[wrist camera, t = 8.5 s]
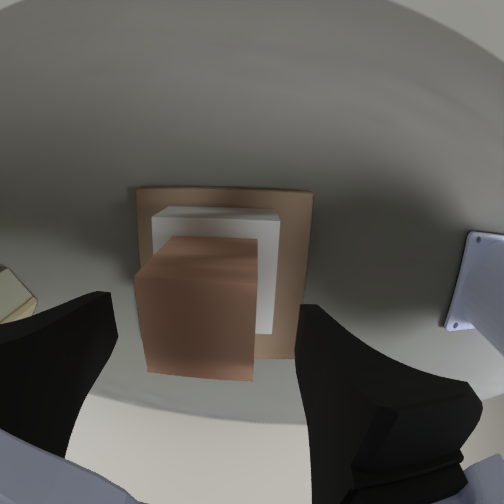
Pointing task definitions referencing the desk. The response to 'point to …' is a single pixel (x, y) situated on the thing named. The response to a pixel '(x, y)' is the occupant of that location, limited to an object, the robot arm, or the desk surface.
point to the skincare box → (14, 298)
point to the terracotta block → (200, 307)
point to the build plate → (286, 248)
